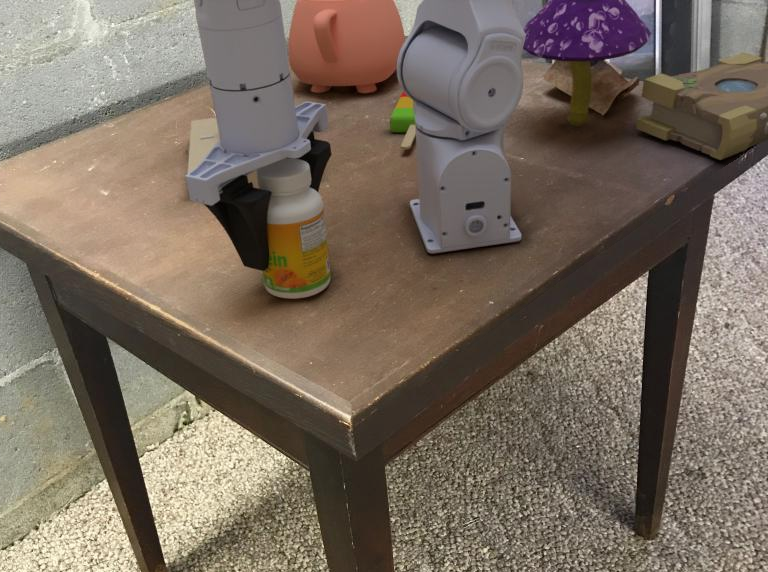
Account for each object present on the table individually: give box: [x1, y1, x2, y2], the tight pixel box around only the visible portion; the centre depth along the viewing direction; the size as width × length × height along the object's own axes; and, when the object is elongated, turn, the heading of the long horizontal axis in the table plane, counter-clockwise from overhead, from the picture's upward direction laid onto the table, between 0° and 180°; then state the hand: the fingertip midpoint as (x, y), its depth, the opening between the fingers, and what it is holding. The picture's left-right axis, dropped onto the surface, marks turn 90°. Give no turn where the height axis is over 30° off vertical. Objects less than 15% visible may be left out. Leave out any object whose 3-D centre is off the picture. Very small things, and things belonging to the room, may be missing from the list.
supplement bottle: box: [256, 159, 332, 300], centre depth 68 cm, size 5×5×10 cm
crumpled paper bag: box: [542, 60, 641, 116], centre depth 96 cm, size 6×12×8 cm
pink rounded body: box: [288, 0, 406, 94], centre depth 104 cm, size 13×20×12 cm, turn 164°
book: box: [636, 52, 768, 161], centre depth 85 cm, size 15×11×5 cm
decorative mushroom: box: [523, 0, 652, 127], centre depth 85 cm, size 12×12×15 cm
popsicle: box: [389, 90, 416, 150], centre depth 93 cm, size 6×15×2 cm, turn 168°
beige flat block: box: [186, 117, 259, 189], centre depth 90 cm, size 14×12×3 cm
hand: (278, 248), depth 70 cm, fingers closed on supplement bottle, 5 cm apart
